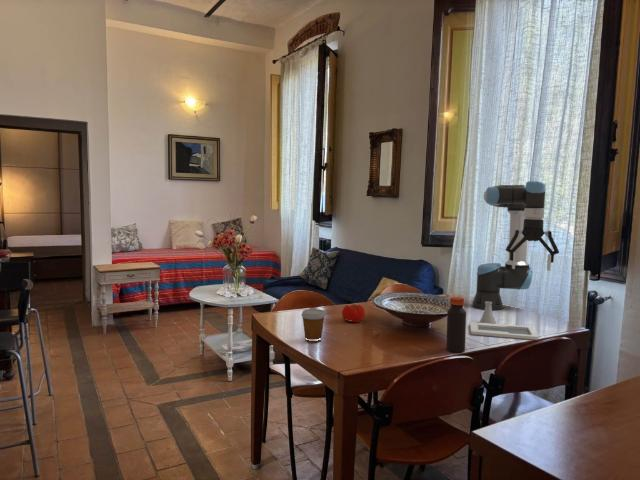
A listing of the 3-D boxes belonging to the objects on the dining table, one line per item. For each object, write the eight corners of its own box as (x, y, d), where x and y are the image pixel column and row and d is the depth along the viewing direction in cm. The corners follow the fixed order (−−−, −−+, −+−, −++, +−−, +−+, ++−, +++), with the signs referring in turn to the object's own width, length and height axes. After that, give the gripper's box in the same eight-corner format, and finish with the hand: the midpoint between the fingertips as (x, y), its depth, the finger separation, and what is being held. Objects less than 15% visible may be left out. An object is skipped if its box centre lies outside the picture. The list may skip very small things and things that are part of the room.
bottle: (467, 353, 171) (469, 300, 169) (449, 353, 170) (451, 300, 169) (460, 347, 178) (462, 296, 176) (443, 347, 177) (445, 296, 175)
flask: (497, 325, 209) (498, 304, 208) (480, 325, 210) (481, 303, 210) (494, 321, 216) (495, 300, 215) (478, 321, 217) (479, 300, 217)
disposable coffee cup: (327, 344, 181) (327, 313, 180) (303, 345, 179) (303, 314, 178) (322, 336, 190) (323, 308, 189) (300, 337, 189) (300, 309, 188)
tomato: (346, 324, 209) (346, 308, 209) (339, 318, 220) (339, 303, 219) (368, 323, 212) (368, 307, 211) (360, 317, 222) (361, 302, 222)
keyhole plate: (469, 325, 210) (470, 321, 210) (532, 330, 202) (532, 326, 202) (471, 334, 194) (471, 331, 194) (538, 340, 187) (538, 336, 187)
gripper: (502, 218, 191) (500, 269, 193) (569, 219, 184) (565, 272, 186) (500, 217, 198) (498, 266, 200) (564, 219, 192) (561, 269, 194)
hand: (530, 269), depth 193 cm, fingers open, 13 cm apart
